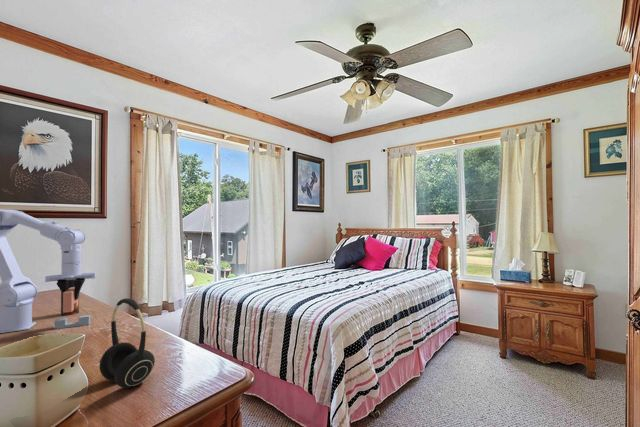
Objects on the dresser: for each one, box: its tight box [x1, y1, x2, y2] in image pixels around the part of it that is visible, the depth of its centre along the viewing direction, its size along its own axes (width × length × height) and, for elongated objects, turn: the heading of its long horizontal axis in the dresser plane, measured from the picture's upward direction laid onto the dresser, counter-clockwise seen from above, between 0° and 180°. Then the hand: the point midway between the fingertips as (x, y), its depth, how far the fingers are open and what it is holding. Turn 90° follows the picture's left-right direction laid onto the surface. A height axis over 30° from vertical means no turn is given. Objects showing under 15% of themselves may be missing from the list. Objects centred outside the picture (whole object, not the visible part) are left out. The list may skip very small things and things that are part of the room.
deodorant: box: [60, 277, 80, 317], centre depth 131 cm, size 6×6×15 cm
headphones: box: [99, 298, 156, 389], centre depth 75 cm, size 9×15×20 cm, turn 58°
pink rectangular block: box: [63, 287, 80, 313], centre depth 114 cm, size 2×10×7 cm, turn 26°
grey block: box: [54, 314, 91, 330], centre depth 115 cm, size 10×2×3 cm, turn 117°
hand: (71, 299), depth 115 cm, fingers closed on pink rectangular block, 2 cm apart
